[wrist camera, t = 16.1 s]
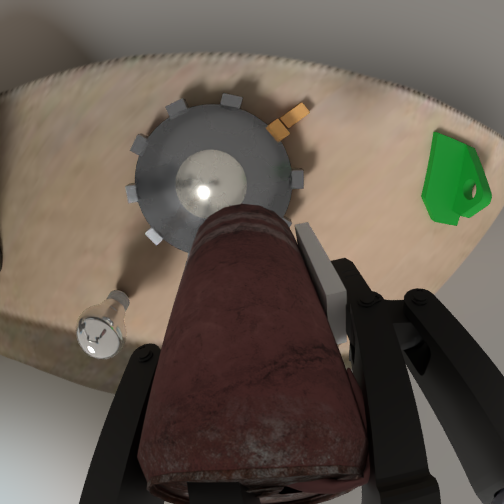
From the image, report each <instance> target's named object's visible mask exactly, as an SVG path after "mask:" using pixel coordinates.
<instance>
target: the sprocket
mask: <svg viewBox="0 0 504 504" xmlns="http://www.w3.org/2000/svg"><path fill="white" fill-rule="evenodd" d="M242 100H243V97H240V96H235V95H230V94H225V93H223V95H222V99H221V103H220V105H218V104H208V105H199V106H195V107H190V108H189V107H188V105H187V102H186V100H185V99H184V98H182V99H180V100H178V101H176V102H174V103H172V104H170V105H168V106H166V110H167V112H168V114H169V118H168V119H166V120H165V121H163V122H162V123H161V124H160V125H159V126H158V127H157V128H156V129H155V130H154V131H153V132H152V134H151V135H150V136H149V137H147V136H146V135H144V134H138V135H137V137H136V139H135V141H134V143H133V145H132V147H131V149H130V151H132V152H134V153H136V154H137V155H139V158H138V161H137V165H136V172H135V183H131V184H128V185H127V186H125V188H126V193H127V198H128V203H133V202H138V203H139V206H140V208H141V211H142V213H143V215H144V217H145V218H146V220H147V222H148V223H149V224H150V226H151V227H150V228H149V229H148V230H147V232H146V233H145V234H146V236H147V237H148V238H149V239H150V240H151V241H152V242H153V243H155V244H156V245H158V244H159V243H160V242H161V241H162V240H163V239H164V240H165V241H166V242H168V243H169V244H171V245H172V246H174V247H176V248H178V249H180V250H182V251H185V252H187V253H188V257H189V254H190V250H191V247H192V244H193V241H194V239H195V236H196V234H197V232H198V229H199V227H200V226H201V225H202V224H203V223H204V222H205V220H206V219H207V218H208V217H209V216H210V215H212V214H213V213H215V212H217V211H219V210H221V209H222V208H224V207H228V206H233V205H238V204H250V205H259V206H262V207H264V208H266V209H269V210H271V211H273V212H275V213H276V214H277V215H278V216H280V217H281V218H282V219H283V220H284V221H285V222H286V223H287V224H288V226H289V227H290V226H291V224H292V222H291V219H289V218H287V217H286V216H284V215H285V212H286V210H287V208H288V205H289V202H290V198H291V192H292V189H304V174H303V169H302V168H295V169H291V165H290V161H289V158H288V155H287V153H286V150H285V148H284V146H283V144H282V143H281V140H282V139H284V138H285V137H286V136H288V135H289V134H290V133H289V132H288V130H287V129H286V128H285V127H284V125H283V124H282V123H281V122H280V120H279V119H275V120H274V121H273V122H271V123H270V124H269V125H268V126H267V125H266V124H265V123H264V122H263V121H261V120H260V119H259V118H257V117H256V116H254V115H252V114H250V113H248V112H247V111H244V110H241V109H240V107H241V103H242ZM187 260H188V258H187ZM186 263H187V261H186ZM185 266H186V265H185Z"/></svg>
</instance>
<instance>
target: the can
mask: <svg viewBox="0 0 504 504" xmlns="http://www.w3.org/2000/svg"><path fill="white" fill-rule="evenodd" d="M137 458H138V461H139V463H140V466H141V468H142V471H143V473H144V476H145V478H146V480H147V490H148V491H149V492H150V493H151V494H152V495H153V496H155V497H157V498H160V499H162V500H164V501H166V502H169V503H173V504H190V502H189V495H188V487H187V482H240V483H241V484H242V485H243V486H245V487H247V488H248V489H249V490H246V492H248V493H252V492H253V493H254V494H255V495H257V496H255V497H256V498H260V502H261V504H318V503H321V502H324V501H328V500H331V499H334V498H336V497H339V496H341V495H343V494H346V493H348V492H350V491H352V490H353V489H355V488H357V487H358V486H362V485H364V484H367V483H368V481H369V477H370V462H369V439H368V435H367V424H366V415H365V407H364V400H363V395H362V390H361V388H360V386H359V384H358V382H357V380H356V379H355V377H354V375H353V373H352V371H351V369H350V368H347V371H346V368H345V365H344V362H343V359H342V357H341V354H340V351H339V348H338V346H337V343H336V340H335V338H334V335H333V332H332V330H331V327H330V324H329V322H328V319H327V316H326V314H325V311H324V309H323V306H322V304H321V301H320V298H319V296H318V293H317V291H316V288H315V286H314V283H313V281H312V278H311V276H310V274H309V271H308V269H307V266H306V264H305V261H304V259H303V257H302V254H301V252H300V249H299V247H298V245H297V242H296V240H295V238H294V235H293V234H292V232H291V230H290V228H289V226H288V224H287V223H286V222H285V221H284V220H283V219H282V218H281V217H280V216H278V215H277V214H276V213H275V212H273V211H271V210H269V209H266V208H264V207H262V206H259V205H250V204H238V205H233V206H228V207H224V208H222V209H221V210H219V211H217V212H215V213H213V214H212V215H210V216H209V217H208V218H207V219H206V220H205V222H204V223H203V224H202V225H201V226H200V227H199V229H198V232H197V234H196V236H195V239H194V241H193V244H192V247H191V250H190V254H189V257H188V260H187V263H186V266H185V269H184V272H183V275H182V279H181V282H180V285H179V288H178V292H177V295H176V298H175V302H174V305H173V309H172V312H171V316H170V319H169V323H168V326H167V330H166V333H165V337H164V341H163V345H162V348H161V352H160V356H159V360H158V364H157V368H156V372H155V376H154V380H153V384H152V388H151V392H150V397H149V401H148V406H147V410H146V415H145V419H144V424H143V429H142V434H141V439H140V444H139V449H138V455H137ZM365 466H366V468H365Z"/></svg>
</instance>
